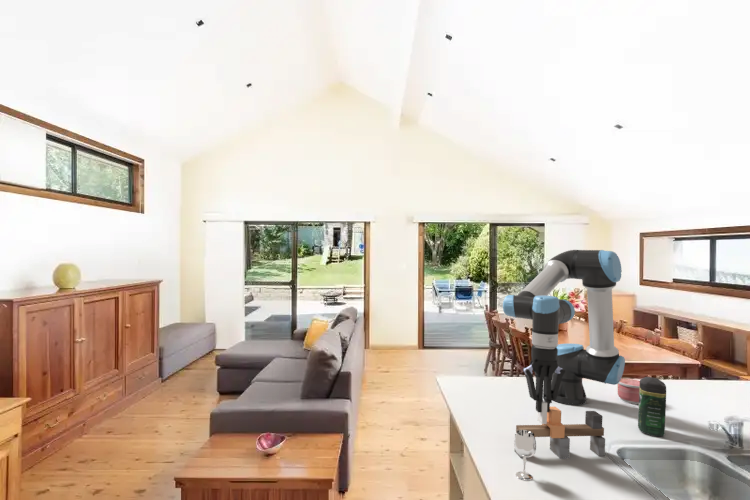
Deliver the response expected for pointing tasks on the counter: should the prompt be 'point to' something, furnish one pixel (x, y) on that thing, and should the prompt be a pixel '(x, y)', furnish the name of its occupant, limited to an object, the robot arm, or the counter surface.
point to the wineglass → (525, 450)
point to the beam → (563, 444)
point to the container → (629, 390)
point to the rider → (555, 423)
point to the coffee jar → (652, 406)
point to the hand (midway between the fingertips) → (542, 422)
